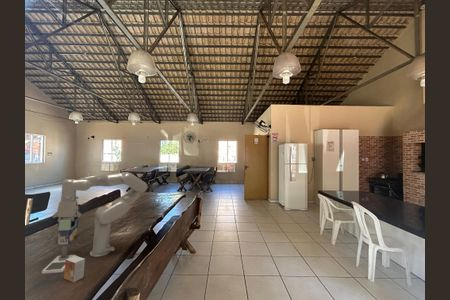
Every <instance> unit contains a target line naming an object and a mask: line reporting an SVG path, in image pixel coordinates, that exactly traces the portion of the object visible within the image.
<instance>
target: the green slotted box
mask: <svg viewBox="0 0 450 300" xmlns="http://www.w3.org/2000/svg"><path fill="white" fill-rule="evenodd" d="M71 222H72V219H71V218H63V219H61V220H60V221H59V228H58V231H59V230H70V229H72V228H73V227H72V228H71Z"/></svg>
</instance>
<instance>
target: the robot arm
mask: <svg viewBox="0 0 450 300" xmlns="http://www.w3.org/2000/svg"><path fill="white" fill-rule="evenodd" d="M119 185H126V186H127V187H129V188H130V189H129V190H128V192H126V193H125V194H124V195H121V196H120V197H118V198H116V199H114V200H113V201H112V202H111V203H110V204H111V206H109V207H108V206H100V207H98V208H97V209H96V211H95V213H94V231H93V241H92V242H93V243H92V250H90V251H89V256H91V257H94V258H97V257H103V256H107V255H108V254H110V253H111V252H114V251H115V247H114V246H111V244H110V233H111V223H112V222H114V221H116V220H117V219H119V218H120V217H122V216H123V215H125V214H126V213H128V211H129V209H130V205H132V204H133V203H135V202H136V201H137V200H138V199H139V197H140V195H141V193H142V194H143V193H145V192H146V191H147V189H148V184H147V183H146V182H145V181H144V180H142V179H141V178H140V177H137V176H136V175H135V174H133V173H132V172H128V171H123V172H116V173H115V172H114V173H108V174H100V175H92V176H85V177H80V178H78V179H77V180H76V179H74V178H68V179H67V178H66V179H63V180H62V184H61V194H60V195H61V196H60V200H59V203H58V205H57V210H56V212H54V214H53V215H52V218H54V220H56V221H57V227H58V228H59V221H60V220H61V219H62V218H63V217H71V219H72V222H71V228H72V227H74V226H75V220H76V219H77V218H78V219H79V218H80V217H81V216H82V213H81V212H80V211H79V212H78V208H79V206H78V205H79V204H78V199H79V196H77V192H78V191H80V192H84V191H85V192H87V191H88V190H90V189H91V187H92V188H93V187H114V186H119ZM75 215H78V216H77V217H75Z"/></svg>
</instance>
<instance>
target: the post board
mask: <svg viewBox="0 0 450 300" xmlns="http://www.w3.org/2000/svg"><path fill="white" fill-rule="evenodd" d="M68 246H69V244H62V245H61V250H60V252H61V253H60V255H57V256H56V257H55V258H54V259H52V261H51V262H50V263H49V264H48V265H47V266H45V268H43V269H42V271H41V274H42V275H43V274H53V273H56V274H57V273H64V272H65V261H66V259H68V258H71V257H73V256H77V254H68Z"/></svg>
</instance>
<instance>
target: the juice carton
mask: <svg viewBox="0 0 450 300" xmlns="http://www.w3.org/2000/svg"><path fill="white" fill-rule="evenodd" d="M78 212H80V207H78ZM77 216H78V215H75V217H77ZM63 218H71V217H63ZM63 218H62V219H63ZM78 228H79V217H78V218H77V219H76V220H75V226H74V227H73V228H72V229H70V230H59V231H58V233H57V245H69V244H70V243H73V241H74V240H76V239H77V238H78V230H79V229H78Z"/></svg>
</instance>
